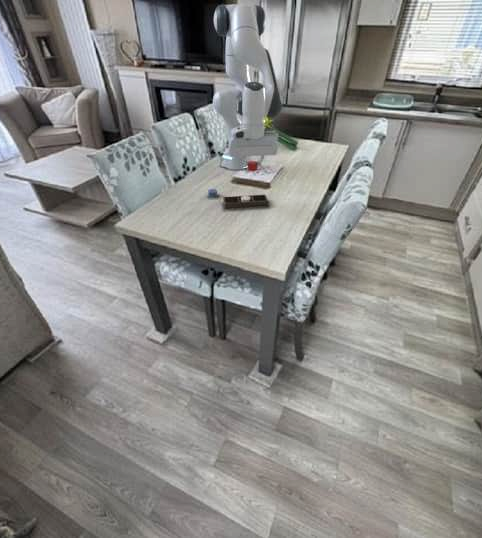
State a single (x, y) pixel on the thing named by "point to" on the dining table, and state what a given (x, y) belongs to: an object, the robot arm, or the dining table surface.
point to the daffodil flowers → (289, 143)
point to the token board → (239, 204)
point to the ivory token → (245, 199)
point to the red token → (252, 166)
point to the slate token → (212, 193)
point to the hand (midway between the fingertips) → (252, 165)
